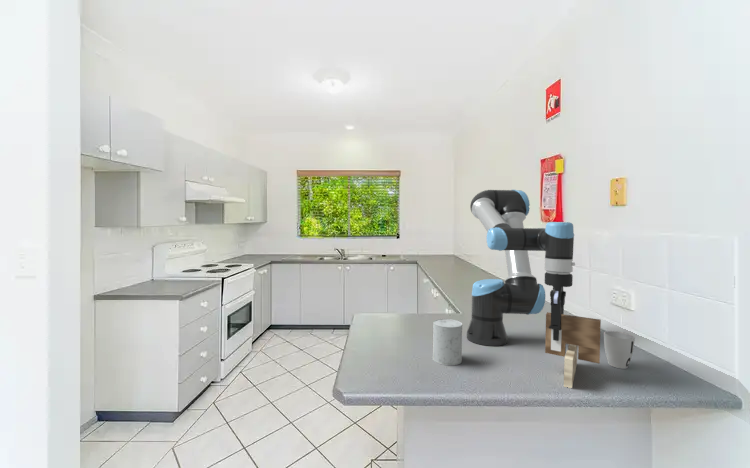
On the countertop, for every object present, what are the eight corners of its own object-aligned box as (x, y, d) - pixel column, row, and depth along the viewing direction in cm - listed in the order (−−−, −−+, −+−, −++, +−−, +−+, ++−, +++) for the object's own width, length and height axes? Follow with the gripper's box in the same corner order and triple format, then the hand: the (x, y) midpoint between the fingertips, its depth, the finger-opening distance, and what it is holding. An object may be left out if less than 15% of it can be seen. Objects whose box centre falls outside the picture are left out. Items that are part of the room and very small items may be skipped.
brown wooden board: (545, 352, 105) (546, 314, 104) (546, 350, 107) (547, 312, 107) (599, 363, 97) (600, 321, 97) (599, 360, 99) (600, 319, 99)
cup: (635, 373, 104) (636, 340, 104) (603, 366, 108) (604, 335, 108) (632, 364, 111) (633, 333, 111) (602, 358, 115) (603, 329, 115)
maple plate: (571, 388, 94) (572, 359, 93) (563, 386, 95) (564, 358, 94) (576, 364, 110) (577, 340, 110) (569, 362, 111) (570, 338, 111)
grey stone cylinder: (462, 356, 116) (463, 320, 116) (460, 367, 107) (461, 328, 106) (434, 352, 119) (435, 317, 119) (430, 362, 110) (430, 325, 110)
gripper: (570, 276, 95) (568, 359, 96) (574, 270, 108) (572, 343, 109) (540, 274, 99) (539, 353, 100) (548, 269, 113) (546, 339, 113)
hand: (556, 348), depth 104 cm, fingers closed on brown wooden board, 3 cm apart
